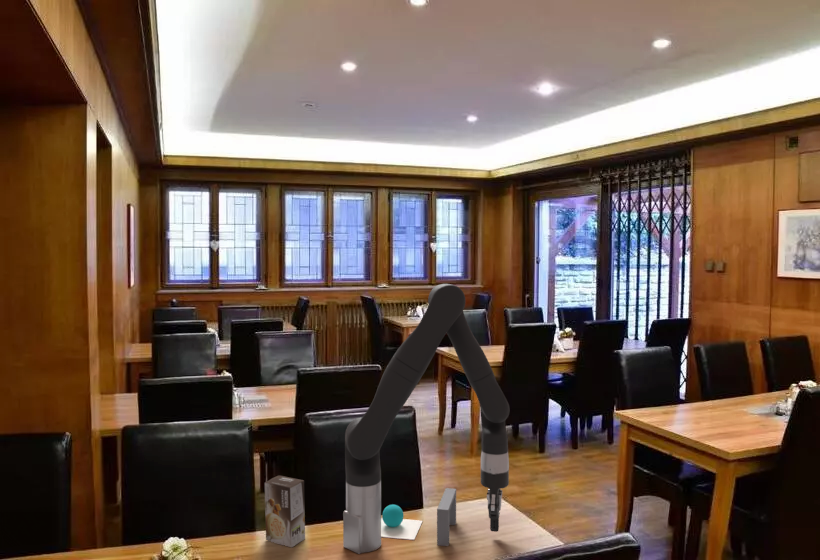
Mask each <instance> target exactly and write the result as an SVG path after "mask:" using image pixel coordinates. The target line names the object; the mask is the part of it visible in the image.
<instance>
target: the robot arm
mask: <svg viewBox="0 0 820 560" xmlns="http://www.w3.org/2000/svg"><path fill="white" fill-rule="evenodd" d="M428 294H429V295H428V299H427V303H428V306H427V308H426V310H425V311H424V313H423V316H422V318H421V319H420V321H419V322H418V324H417V326H416V327H415V329H414V330H413V331H412V332H411V333H410V334H409V335H408V336H407V338H406V339H404V341H403V342H402V343H401V345H400V346H399V347H398V348H397V350H396V351H395V353H394V354H393V356H392V357H391V359H390V360H389V362H388V364H387V366H386V367H385V369H384V371H383V374H382V376H381V379H380V381H379V383H378V385H377V389H376V392H375V395H374V398H373V399H372V402H371V404H370V405H369V407H368V408H367V410H366V411H365V413H364V414H363V416H361V417H357V418H354V419H353V420H351V422H349V423H348V425H347V427H346V429H345V431H344V432H345V433H344V457H345V458H344V462H345V464H344V465H345V510H344V511H343V513H342V517H343V522H342V523H343V525H342V529H343V533H342V534H343V535H342V536H343V543H342V545H343V547H344V548H345V549H348V550H349V551H352V552H354V553H356V554H359V555H360V554H363V553H369V552H373V551H376V550H377V549H378V550H379V548H381V546H382V537H381V518H382V468H381V459H380V450H381V448H382V446H383V445H384V444H383V443H384V442H385V439H386V438H387V435H388V433H389V431H390V428H391V427H392V425H393V423H394V420H395V419H396V417H397V416H398V414H399V412H400V411H401V410H402V409H403V407H404V405H405V404H406V402H407V401H408V400H409V398H410V396H411V395H412V393H413V392H414V390H415V388H416V387H417V385H418V384H419V382H420V380H422V376H423V375H424V374H425V373H426V370H427V368H428V367H429V365H430V363H431V361H432V359H433V358H434V356H435V354H436V352H437V350H438V347H439V346H440V344H441V342H442V340H443V339H444V337H445V336H446V335H447V337H448V338H449V340H450V342H451V344H452V347H453V348H454V351H455V353H456V356H457V358H458V361H459V363H460V366H461V367H462V370H463V371H464V374H465V376H466V378H467V380H468V382H469V385H470V386H471V388H472V389H473V391H474V393H475V396H476V398H477V400H478V403H479V404H480V405H479V406H480V408H479V409H480V410H479V411H480V421H481V422H480V423H481V432H482V433H481V454H480V484H481V486H483V487H485V488H487V492H486V500H487V510H488V518H489V520H490V521H489V523H490V524H489V528H490V531H491V532H495V533H496V532H499V528H500V515H501V512H500V511H501V508H502V497H503V490H502V489H505V488H507V487H509V484H510V483H509V482H510V481H509V479H510V474H509V472H510V462H509V461H510V460H509V458H510V457H509V439H508V436H509V435H508V432H507V428H506V420H507V419H508V418H509V415H510V404H509V402H508V399H507V398H506V396H505V394H504V392H503V391H502V389H501V386H500V385H499V383H498V381H497V380H496V379H497V378H496V376H495V374H494V371H493V369H492V366H491V364H490V362H489V360H488V358H487V356H486V353H485V352H484V350H483V349H482V347H481V345H480V344H479V342H478V340H477V339H476V337H475V336H474V333H473V332H472V330H471V328H470V326H469V323H468V322H467V319H466V316H465V313H464V309H465V307H466V296H465V295H466V294H465V293H464V292H463V289H461V288H460V287H459V286H458V285H456V284H452V283H451V284H450V283H441V284H438V285H435V286H434V287H433V288H432V289H431V291H429V293H428Z"/></svg>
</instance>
